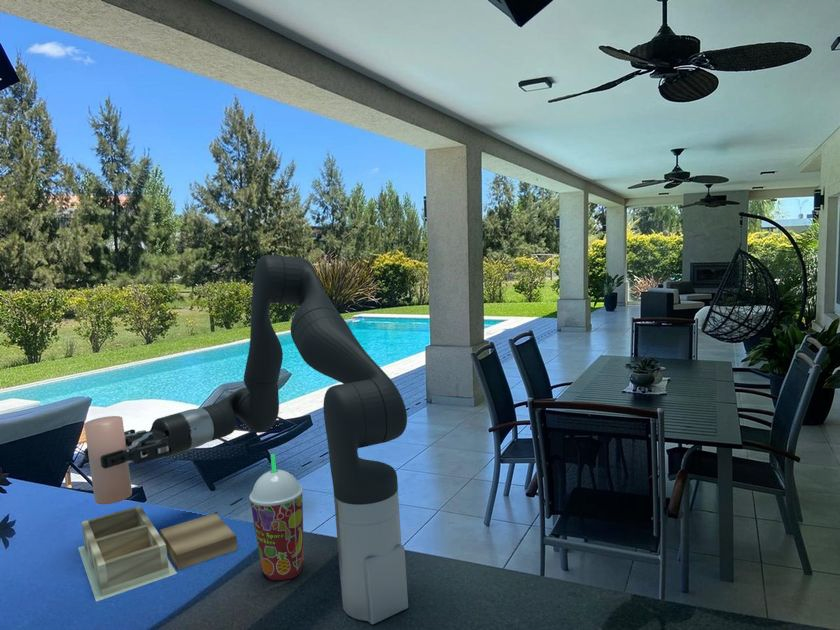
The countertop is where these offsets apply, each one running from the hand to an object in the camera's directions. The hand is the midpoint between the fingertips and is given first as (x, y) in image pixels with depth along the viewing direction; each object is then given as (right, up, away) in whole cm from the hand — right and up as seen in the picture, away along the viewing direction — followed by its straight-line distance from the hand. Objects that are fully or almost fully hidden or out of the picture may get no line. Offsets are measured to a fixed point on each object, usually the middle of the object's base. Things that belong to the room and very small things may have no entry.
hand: (93, 458), depth 107 cm
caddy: (+5, -18, 0) cm, 18 cm away
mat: (+5, -18, 0) cm, 19 cm away
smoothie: (+34, -17, -6) cm, 39 cm away
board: (+17, -17, +3) cm, 24 cm away
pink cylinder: (+2, -7, +3) cm, 8 cm away
